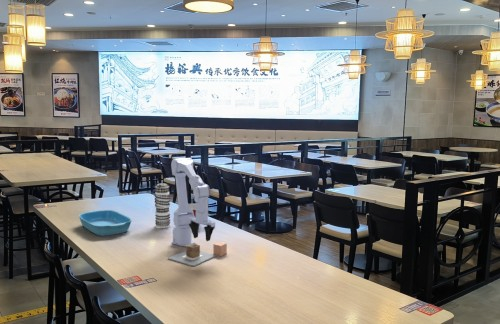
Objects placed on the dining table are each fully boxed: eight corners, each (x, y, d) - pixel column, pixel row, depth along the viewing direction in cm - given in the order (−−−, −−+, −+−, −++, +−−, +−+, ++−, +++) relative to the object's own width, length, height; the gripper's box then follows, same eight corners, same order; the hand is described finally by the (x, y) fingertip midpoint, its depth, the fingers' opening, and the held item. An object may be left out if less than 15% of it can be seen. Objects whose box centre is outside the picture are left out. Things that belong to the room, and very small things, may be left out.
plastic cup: (186, 228, 245) (186, 208, 243) (184, 223, 255) (184, 204, 254) (205, 227, 248) (205, 207, 246) (202, 222, 258) (202, 203, 257)
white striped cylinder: (155, 228, 244) (154, 185, 240) (154, 224, 253) (153, 183, 249) (171, 227, 246) (170, 185, 243) (170, 223, 255) (169, 182, 252)
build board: (167, 259, 196) (167, 257, 196) (191, 249, 209) (191, 248, 209) (193, 266, 187) (193, 265, 187) (216, 256, 201) (216, 254, 200)
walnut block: (186, 255, 199) (186, 245, 198) (193, 253, 202) (193, 243, 201) (192, 258, 196) (192, 247, 195) (199, 255, 199) (199, 245, 198)
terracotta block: (213, 254, 204) (213, 244, 203) (219, 251, 208) (219, 241, 207) (220, 256, 201) (220, 245, 201) (226, 253, 205) (226, 243, 204)
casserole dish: (138, 232, 237) (137, 220, 236) (98, 240, 222) (98, 227, 221) (110, 219, 264) (110, 207, 263) (73, 225, 249) (73, 213, 248)
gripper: (219, 211, 197) (219, 239, 198) (195, 206, 205) (196, 234, 207) (209, 214, 191) (209, 243, 193) (185, 209, 199) (186, 237, 201)
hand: (201, 239), depth 199 cm, fingers open, 7 cm apart
